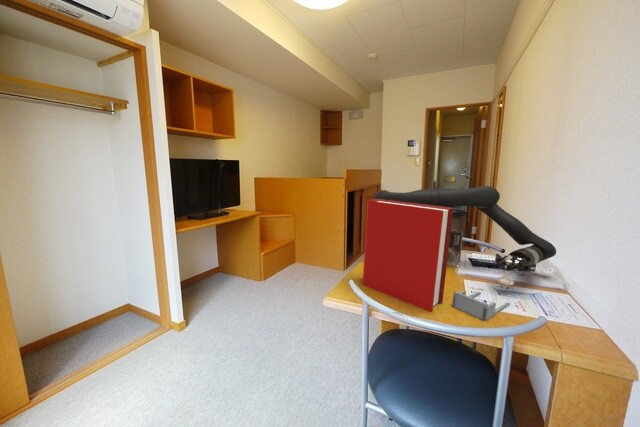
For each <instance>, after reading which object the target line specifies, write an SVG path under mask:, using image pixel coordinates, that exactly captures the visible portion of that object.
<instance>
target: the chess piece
mask: <svg viewBox="0 0 640 427" xmlns="http://www.w3.org/2000/svg"><path fill="white" fill-rule="evenodd" d="M508 255H509V254H508ZM507 259H508V260H506V265H508V264H510V263H512V261H511V260H510V259H512V257H511V256H510V255H509V257H507ZM506 267H507V266H505V267H504V268H505V271H504V274H503V276H502V277H500V276H499V277H498V278H497V280H496V281H497V282H499V283H500V284H503V285H506V286H507V285H508V286H513V285H514V282H515V281H514V280H512V279H511V278H510V271H506Z"/></svg>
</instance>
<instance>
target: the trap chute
mask: <svg viewBox="0 0 640 427" xmlns="http://www.w3.org/2000/svg"><path fill="white" fill-rule="evenodd" d="M481 294H482V293H481V291H475V293H472V294H470V295H466V290H462V291H456V290H455V291H453V296H452V297H453V298H452V304H451V306H452V307H453V308H455V309H458V310H460V311H462V312H464V313H466V314H468V315H471V316H473V317H475V318H477V319H479V320H481V321H484V322H485V321H488V320H489V319H491V318H492V317H494V316H495V315H497V314H498V313H500V312H502V311H503V310H505V309H507V308H508V307H510V306H509V305H511V303H510V302H505V303H503V304H502V305H500V306H499V307H497V308H496V305H497V303H496V302H495V301H492V302H490V303H488V304H487V303H486V302H483V301H481V300H478V299H476V297H478V296H479V295H481ZM507 306H508V307H507ZM506 307H507V308H506ZM504 308H505V309H504ZM501 310H502V311H501Z"/></svg>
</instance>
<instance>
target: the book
mask: <svg viewBox="0 0 640 427" xmlns="http://www.w3.org/2000/svg"><path fill="white" fill-rule="evenodd" d="M366 204H367V205H366V218H365V219H366V220H365V237H364V238H365V239H364V252H363V253H364V254H363V255H364V256H363V267H362V268H363V272H362V285H363V286H364V287H367V288H369V289H372V290H375V291H377V292H380V293H382V294H384V295H387V296H389V297H391V298H392V297H393V298H394V299H398V300H400V301H402V302H405V303H408V304H410V305H413V306H414V307H415V306H416V308H417V307H418V308H420V309H423V310H425V311H428V312H430V313H433V311H434V306H436V305H437V304H443V301H444V292H445V283H446V277H447V276H446V274H447V266H448V265H447V259H448V250H449V242H450V233H451V229H452V224H453V223H452V222H453V214H454V207H453V208H450V207H442V206H434V205H426V204H417V203H409V202H401V201H393V200H385V199H373V198H371V199H367V203H366Z"/></svg>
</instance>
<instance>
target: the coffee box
mask: <svg viewBox="0 0 640 427" xmlns="http://www.w3.org/2000/svg"><path fill="white" fill-rule="evenodd" d="M463 236H464V230H463V229H462V230H461V229H453V228H451V233H450V242H449V250H448V259H447V266H448V267H454V268H457V267H456V266H457V265H459V263H460V264H461V255H462V246H463ZM459 266H460V265H459Z"/></svg>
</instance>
